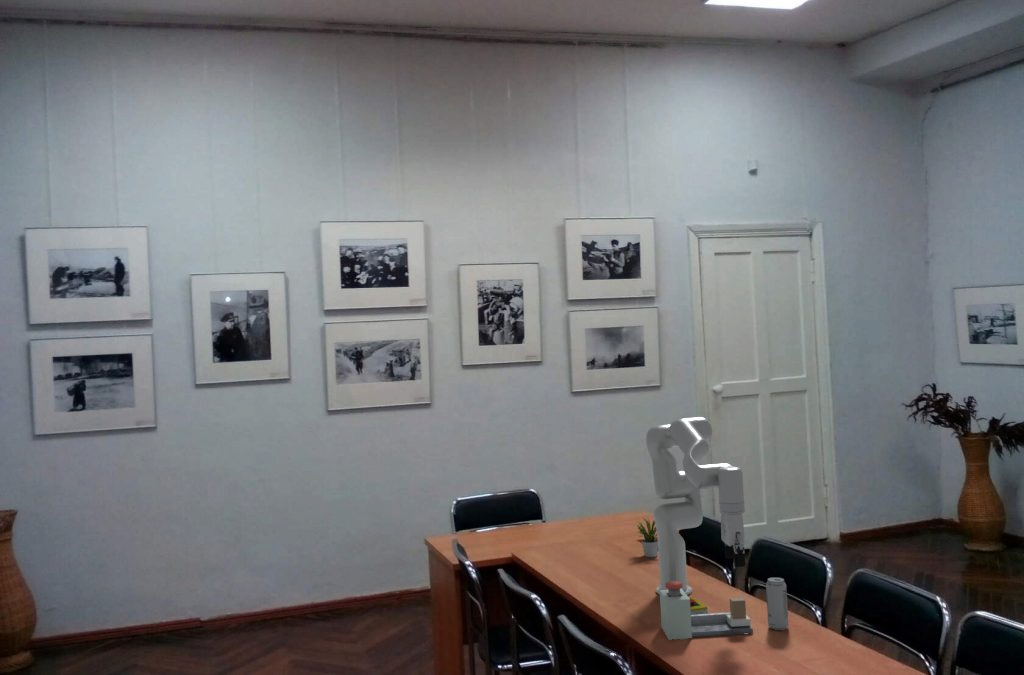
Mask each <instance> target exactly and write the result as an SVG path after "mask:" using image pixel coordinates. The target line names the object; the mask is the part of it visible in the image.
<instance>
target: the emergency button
mask: <svg viewBox="0 0 1024 675" xmlns="http://www.w3.org/2000/svg"><path fill="white" fill-rule="evenodd" d="M689 599H690V610H691V615H697V614H709V611H708V606H707V605H706V604H704V603H702V601H700V600H698V599H697V598H695V597H689Z"/></svg>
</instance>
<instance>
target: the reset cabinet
mask: <svg viewBox="0 0 1024 675" xmlns="http://www.w3.org/2000/svg"><path fill="white" fill-rule="evenodd" d="M689 598H690V597H689V596H688V595H686V594H685V592H684V591H683V590H682V589H680V596H678V597H669V593H668V590H660V594H659V603H660V604H659V605H660V606H659V607H660V622H661V623H660V624H661V630H662V629H663V630H664V631H663V630H662V631H663V633H664V632H665V633H664V634H665V636H666V635H667V636H666V637H668V638H667V639H668V641H673V640H672V639H680V640H688V639H687V638H692V629H691V610H690V599H689ZM685 638H686V639H685Z"/></svg>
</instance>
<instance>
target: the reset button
mask: <svg viewBox="0 0 1024 675" xmlns="http://www.w3.org/2000/svg"><path fill="white" fill-rule="evenodd" d="M665 586H666V588H668V593H669V597H678V596H680V588H682V587H683V585H682V582H678V581H669V582H666V583H665Z"/></svg>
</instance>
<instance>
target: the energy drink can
mask: <svg viewBox="0 0 1024 675" xmlns="http://www.w3.org/2000/svg"><path fill="white" fill-rule="evenodd" d="M765 589H766V590H765V591H766V612H767V625H768V626H769V628H770V629H771V628H772V629H775V630H774V631H776V630H783V631H786V630H787V628H788V627H789V612H788V611H789V609H788V595H787V594H788V592H787V584H786V582H785V579H784V578H782V577H774V576H773V577H769V578H767V582H766V584H765ZM772 629H771V630H772ZM785 629H786V630H785Z"/></svg>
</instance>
